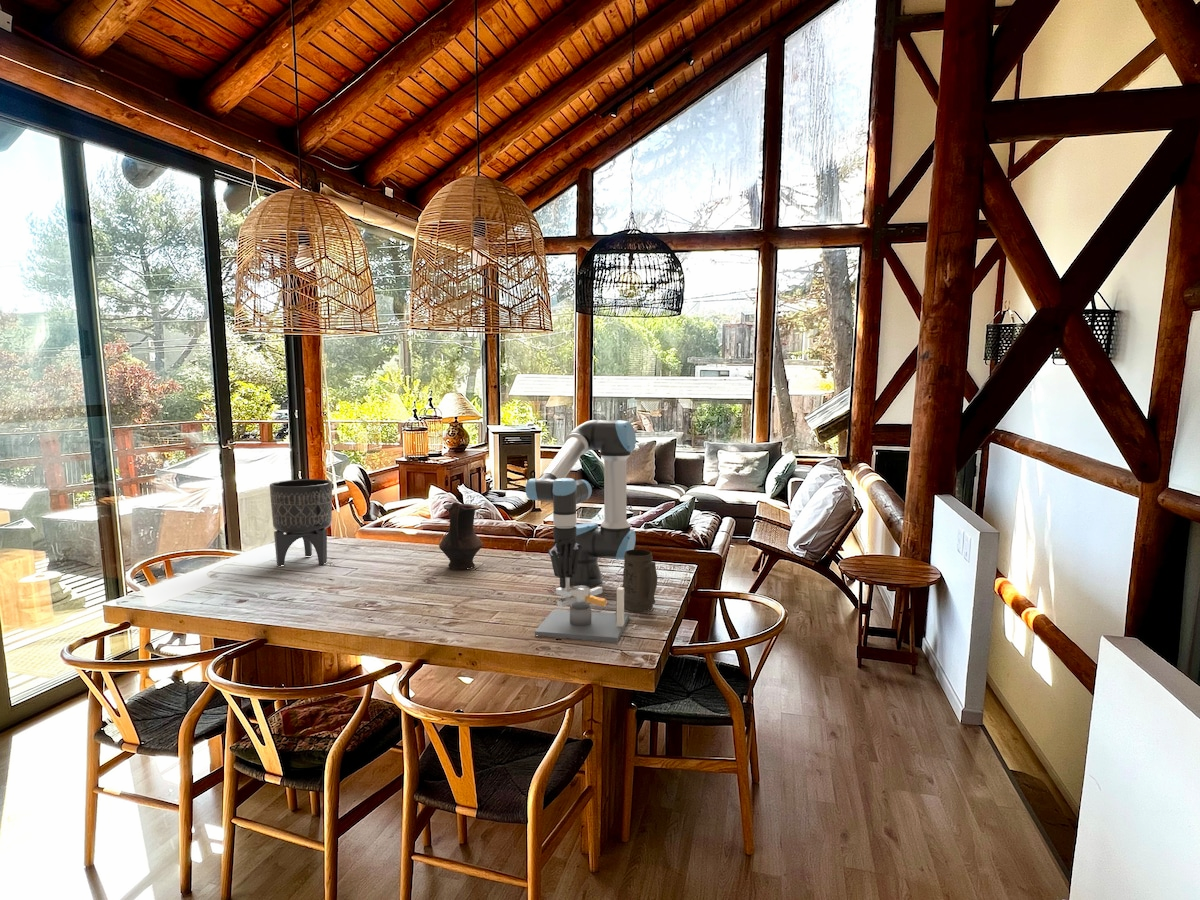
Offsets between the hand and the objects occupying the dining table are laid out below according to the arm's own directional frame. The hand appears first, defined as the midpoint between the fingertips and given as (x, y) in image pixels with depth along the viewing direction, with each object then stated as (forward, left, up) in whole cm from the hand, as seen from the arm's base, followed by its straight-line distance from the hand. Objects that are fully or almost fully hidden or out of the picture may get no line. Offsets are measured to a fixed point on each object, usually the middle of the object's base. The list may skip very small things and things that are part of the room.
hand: (565, 596), depth 223 cm
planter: (-50, -132, -9) cm, 142 cm away
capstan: (+4, +6, -2) cm, 7 cm away
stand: (+4, +6, -9) cm, 11 cm away
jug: (-56, -61, -9) cm, 84 cm away
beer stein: (-19, +23, -9) cm, 31 cm away
